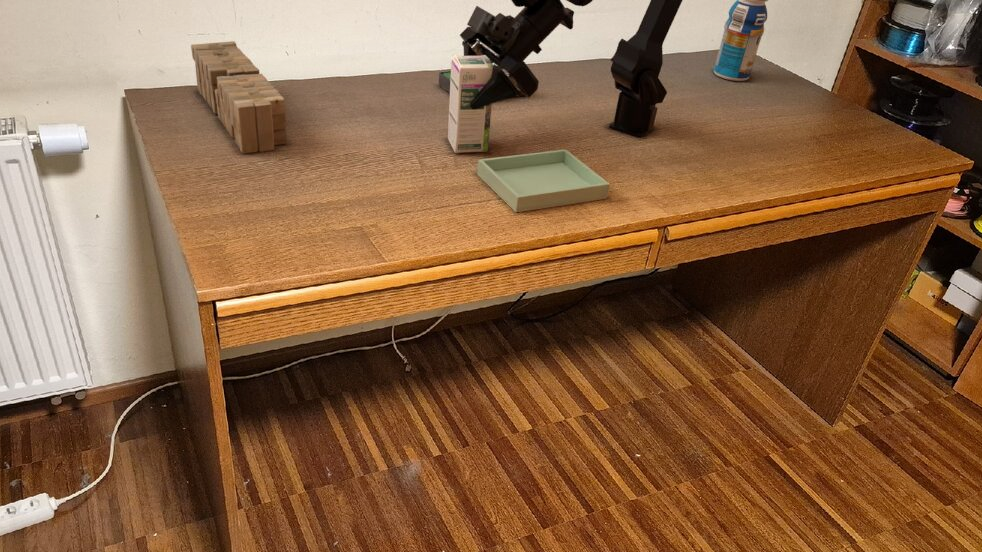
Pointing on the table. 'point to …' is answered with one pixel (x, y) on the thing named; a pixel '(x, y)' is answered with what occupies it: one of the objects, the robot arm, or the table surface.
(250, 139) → the block tower
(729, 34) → the beverage bottle
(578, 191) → the tray
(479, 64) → the syrup box
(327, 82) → the table surface
